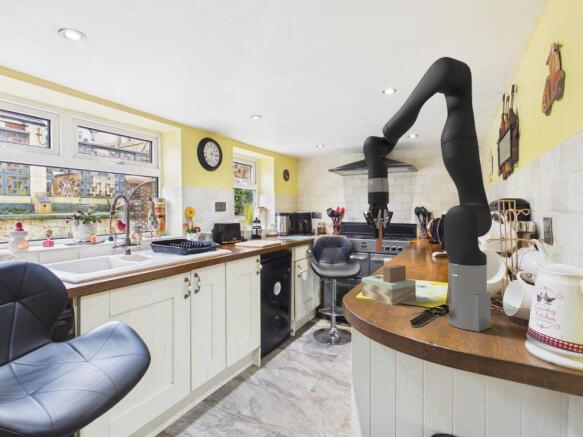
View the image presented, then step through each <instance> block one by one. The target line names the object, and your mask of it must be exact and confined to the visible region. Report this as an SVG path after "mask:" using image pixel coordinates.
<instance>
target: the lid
mask: <svg viewBox="0 0 583 437" xmlns="http://www.w3.org/2000/svg"><path fill="white" fill-rule="evenodd" d="M406 269H407V266H406V265H401V264H395V265H389V266H383V267H382V272H383V274H377V275H369V276H364V277H361V283H362V282H364V283H368V284H372V285H376V286H379V287H383V288H387V289H391V290H393V289H398V288H403V287H407V286H412V285H416V282H417V281H416V280H415V279H409V278H407V274H406V272H407V270H406ZM416 286H417V285H416Z"/></svg>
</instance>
